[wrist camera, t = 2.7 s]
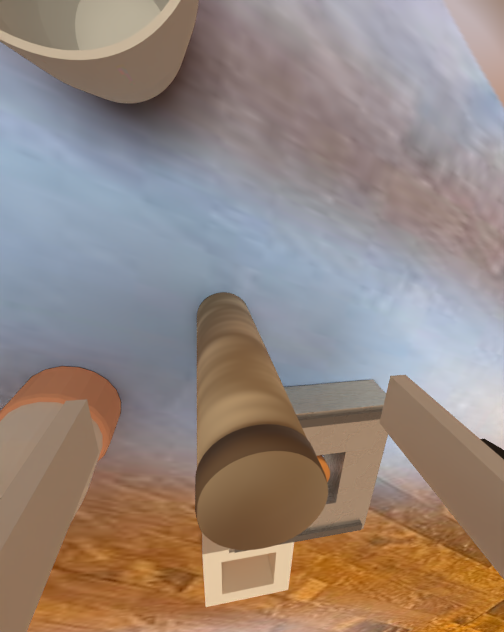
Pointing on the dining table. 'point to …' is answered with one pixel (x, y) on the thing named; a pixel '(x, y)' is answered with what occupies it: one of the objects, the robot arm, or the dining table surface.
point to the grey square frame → (342, 449)
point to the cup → (102, 42)
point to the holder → (244, 572)
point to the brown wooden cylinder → (248, 438)
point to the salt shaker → (53, 415)
